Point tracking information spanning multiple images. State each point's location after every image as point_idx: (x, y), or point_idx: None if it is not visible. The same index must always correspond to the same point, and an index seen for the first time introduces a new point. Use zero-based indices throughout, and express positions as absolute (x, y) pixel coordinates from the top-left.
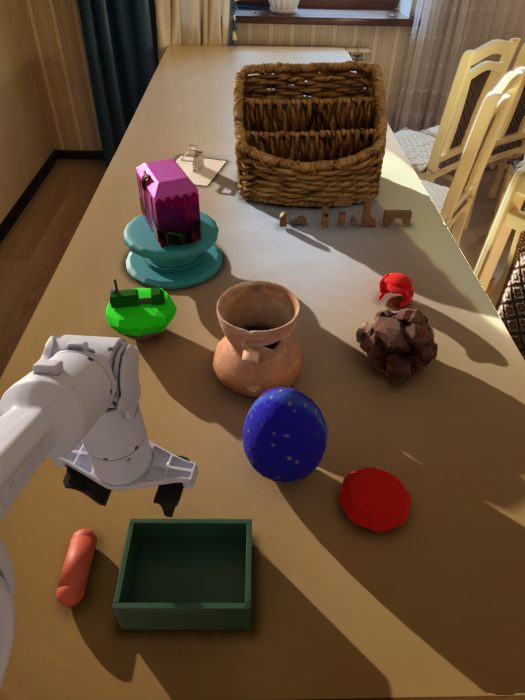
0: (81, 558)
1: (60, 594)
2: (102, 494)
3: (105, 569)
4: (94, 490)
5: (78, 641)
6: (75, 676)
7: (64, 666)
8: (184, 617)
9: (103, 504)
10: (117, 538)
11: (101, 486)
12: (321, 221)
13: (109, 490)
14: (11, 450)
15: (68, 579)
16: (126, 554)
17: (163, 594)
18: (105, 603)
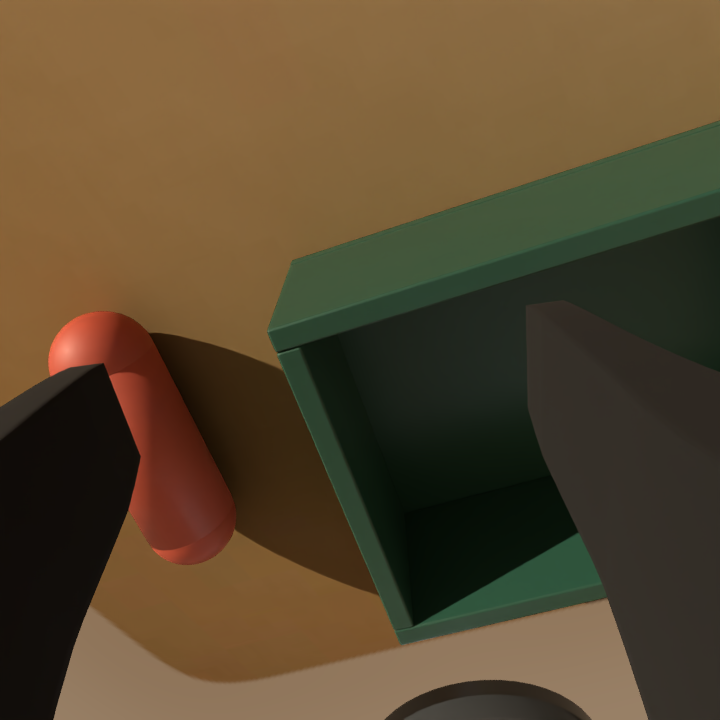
0: (154, 455)
1: (173, 562)
2: (92, 512)
3: (240, 387)
4: (46, 673)
5: (293, 573)
6: (335, 631)
7: (295, 623)
8: None
9: (132, 492)
10: (208, 270)
11: (53, 537)
12: None
13: (99, 402)
14: None
15: (166, 532)
16: (348, 483)
17: (485, 413)
18: (306, 475)
